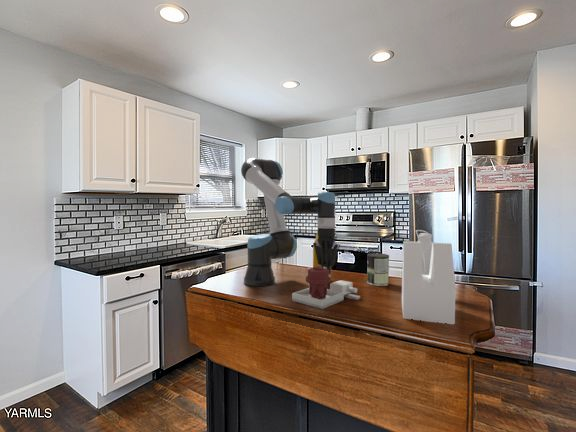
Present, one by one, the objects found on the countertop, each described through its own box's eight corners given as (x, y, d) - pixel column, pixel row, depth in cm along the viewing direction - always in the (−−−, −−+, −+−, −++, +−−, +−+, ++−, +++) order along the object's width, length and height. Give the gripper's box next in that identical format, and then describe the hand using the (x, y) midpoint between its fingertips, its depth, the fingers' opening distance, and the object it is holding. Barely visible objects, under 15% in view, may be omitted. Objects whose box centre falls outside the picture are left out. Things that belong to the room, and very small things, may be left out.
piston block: (330, 292, 128) (330, 283, 128) (340, 289, 134) (340, 280, 133) (351, 297, 121) (351, 287, 121) (360, 293, 127) (361, 284, 127)
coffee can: (363, 283, 148) (364, 255, 148) (371, 279, 157) (371, 252, 156) (384, 287, 142) (385, 257, 142) (391, 282, 151) (392, 254, 150)
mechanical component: (331, 295, 125) (329, 302, 116) (307, 293, 127) (303, 300, 118) (331, 265, 125) (330, 270, 115) (307, 264, 127) (303, 268, 117)
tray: (292, 300, 121) (292, 293, 121) (314, 293, 132) (314, 286, 132) (322, 309, 111) (322, 300, 111) (343, 300, 122) (343, 292, 122)
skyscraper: (421, 297, 127) (423, 230, 126) (410, 292, 135) (411, 229, 134) (439, 296, 129) (440, 230, 128) (426, 291, 137) (428, 229, 136)
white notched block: (454, 324, 97) (456, 246, 96) (403, 318, 102) (404, 244, 101) (444, 306, 115) (446, 240, 115) (401, 302, 120) (402, 239, 120)
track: (333, 294, 130) (333, 292, 129) (337, 293, 132) (337, 290, 132) (356, 300, 122) (356, 297, 122) (360, 298, 124) (360, 296, 124)
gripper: (309, 227, 135) (309, 280, 135) (334, 228, 126) (333, 285, 127) (319, 226, 140) (319, 277, 141) (343, 227, 132) (343, 282, 132)
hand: (326, 281), depth 134 cm, fingers closed
